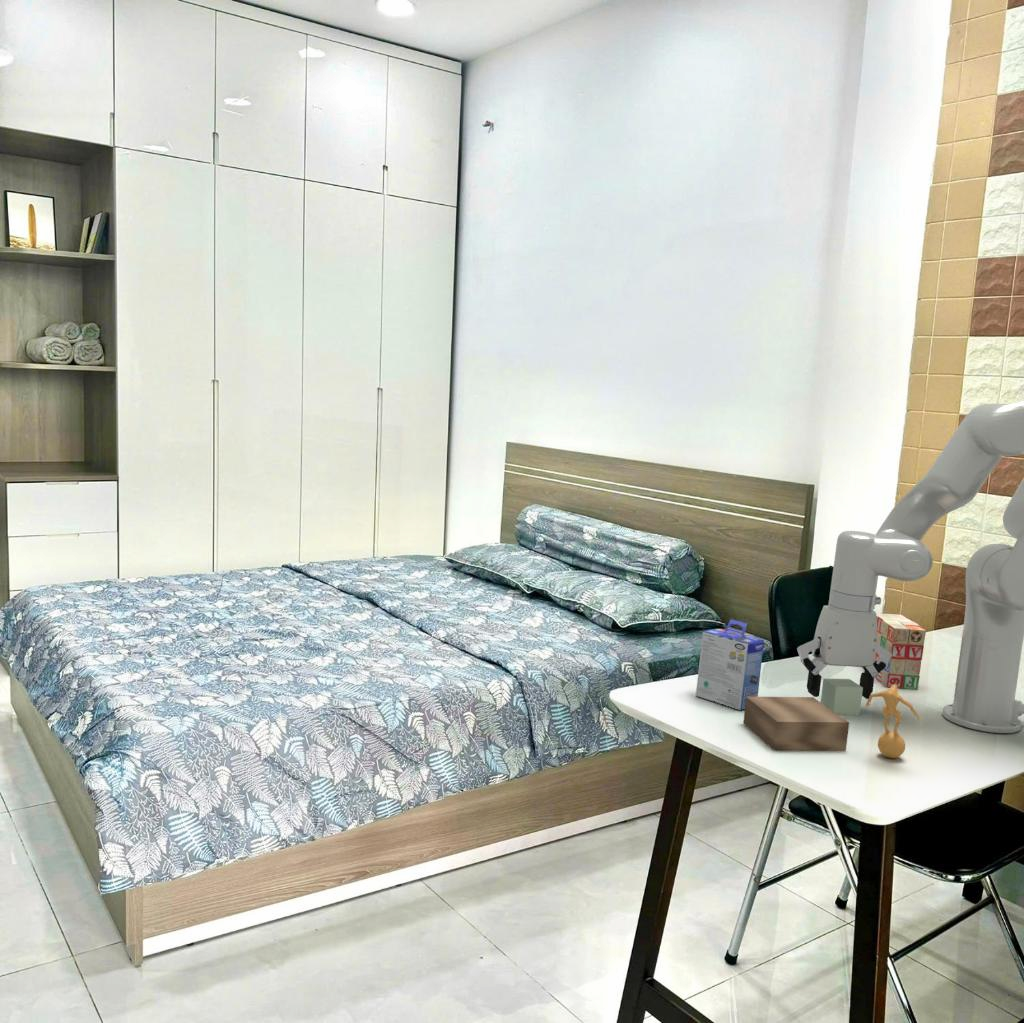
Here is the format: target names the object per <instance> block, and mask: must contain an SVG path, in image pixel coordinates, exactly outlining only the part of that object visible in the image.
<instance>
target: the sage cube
mask: <svg viewBox="0 0 1024 1023" xmlns="http://www.w3.org/2000/svg"><path fill="white" fill-rule="evenodd" d="M862 692H863V687H861V686H860V685H859V684H858V683H857V682H855V681H853V680H852V679H850V678H830V677H829V678H824V677H822V687H821V696H820V702H821V703H822V704H824V705H825V706H826V707H828V708H829V709H831V710H832V711H834V712H835V713H836V714H838V715H853V714H854V715H855V714H856V716H857V715H861V708H862V701H863V700H862V699H863V696H862ZM854 715H853V716H854Z"/></svg>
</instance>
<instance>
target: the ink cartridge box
mask: <svg viewBox="0 0 1024 1023" xmlns="http://www.w3.org/2000/svg"><path fill="white" fill-rule="evenodd" d="M734 625H736V626H737V625H738V626H740V627H741V628H742V629H738V628H734V627H732V626H734ZM747 627H748V623H747V622H743V621H739V620H735V619H732V618H730V620H729V622H728V624H727V625H726V628H725V629H722V628H714V629H708V630H707V629H706V630H704V631H702V635H701V636H702V638H701V645H700V646H701V647H700V652H699V653H700V655H699V665H698V670H697V671H698V672H697V680H696V688H695V696H696V697H699V698H702V699H705V700H707V701H711V702H714V701H715V702H714V703H716V704H720V705H722V704H724V705H723V706H725V705H726V706H725V707H728V706H729V707H728V708H731V707H732V709H734V708H735V709H734V710H737V709H738V710H737V711H744V710H745V702H746V696H749V697H759V689H760V688H759V687H760V679H761V670H762V663H763V662H762V660H763V653H764V645H765V644H764V643H765V640H764V639H763V638H758V637H756V636H755V637H754V636H749V635H746V634H745V633H746V630H747Z"/></svg>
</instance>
